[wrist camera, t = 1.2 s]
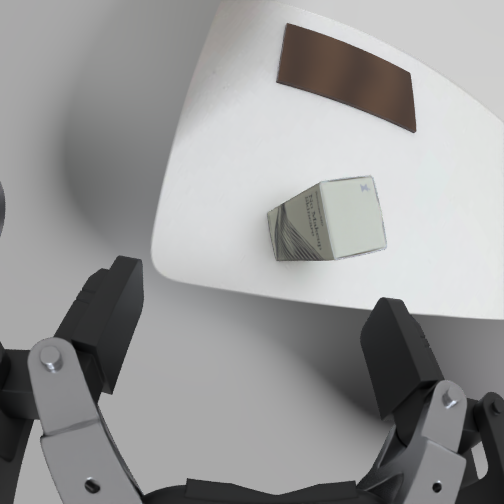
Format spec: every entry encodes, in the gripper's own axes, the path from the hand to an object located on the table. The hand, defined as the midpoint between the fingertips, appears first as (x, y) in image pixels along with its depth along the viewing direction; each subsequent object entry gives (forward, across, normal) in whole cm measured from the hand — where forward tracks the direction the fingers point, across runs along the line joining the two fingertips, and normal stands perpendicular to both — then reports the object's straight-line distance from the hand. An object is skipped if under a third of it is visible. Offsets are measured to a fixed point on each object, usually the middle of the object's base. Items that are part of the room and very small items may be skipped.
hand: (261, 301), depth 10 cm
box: (+20, -5, +8) cm, 22 cm away
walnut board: (+34, -11, -10) cm, 37 cm away
